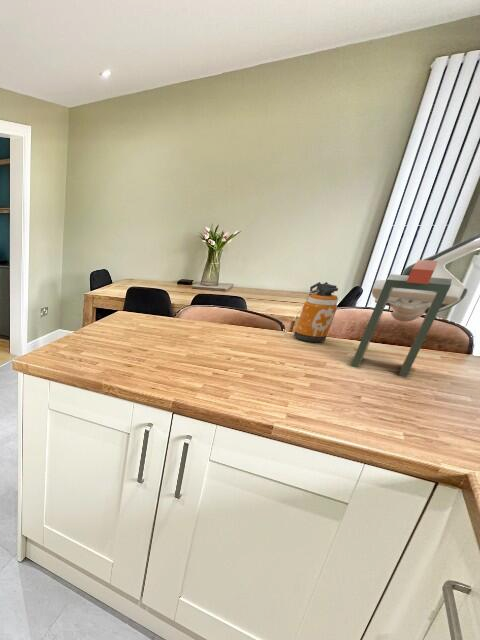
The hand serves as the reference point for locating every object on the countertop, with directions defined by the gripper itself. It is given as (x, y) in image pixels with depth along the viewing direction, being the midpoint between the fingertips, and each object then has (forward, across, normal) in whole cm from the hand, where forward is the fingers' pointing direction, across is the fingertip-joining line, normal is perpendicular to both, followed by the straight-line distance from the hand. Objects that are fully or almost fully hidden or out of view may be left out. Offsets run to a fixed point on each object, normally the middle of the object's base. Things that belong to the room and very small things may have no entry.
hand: (418, 282), depth 126 cm
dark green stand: (+11, 0, -31) cm, 33 cm away
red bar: (+21, 0, -7) cm, 22 cm away
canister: (-4, +21, -23) cm, 31 cm away
